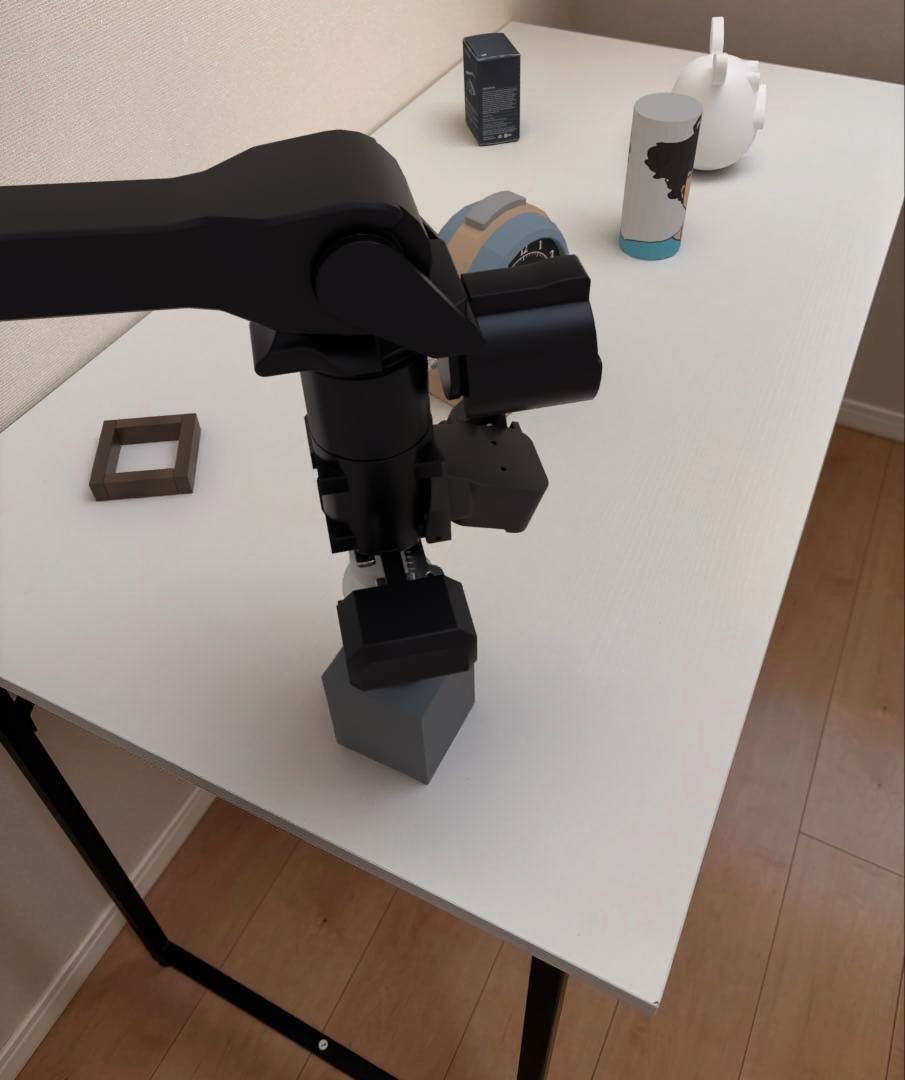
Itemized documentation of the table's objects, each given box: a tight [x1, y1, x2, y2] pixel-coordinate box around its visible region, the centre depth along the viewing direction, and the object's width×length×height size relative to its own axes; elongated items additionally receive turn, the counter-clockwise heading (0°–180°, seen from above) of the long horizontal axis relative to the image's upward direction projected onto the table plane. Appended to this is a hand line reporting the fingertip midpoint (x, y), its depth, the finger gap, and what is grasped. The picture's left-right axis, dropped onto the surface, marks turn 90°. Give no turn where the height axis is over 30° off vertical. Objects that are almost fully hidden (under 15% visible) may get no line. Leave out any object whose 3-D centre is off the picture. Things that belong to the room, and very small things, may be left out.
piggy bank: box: [670, 16, 768, 171], centre depth 110 cm, size 12×12×15 cm
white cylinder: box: [618, 91, 703, 261], centre depth 99 cm, size 7×7×15 cm
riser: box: [321, 646, 476, 785], centre depth 61 cm, size 7×7×8 cm
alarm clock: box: [428, 190, 570, 426], centre depth 83 cm, size 14×10×18 cm
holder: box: [88, 412, 202, 502], centre depth 82 cm, size 8×8×2 cm
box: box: [461, 32, 522, 146], centre depth 120 cm, size 8×6×11 cm
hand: (393, 621), depth 56 cm, fingers closed on pill bottle, 5 cm apart
